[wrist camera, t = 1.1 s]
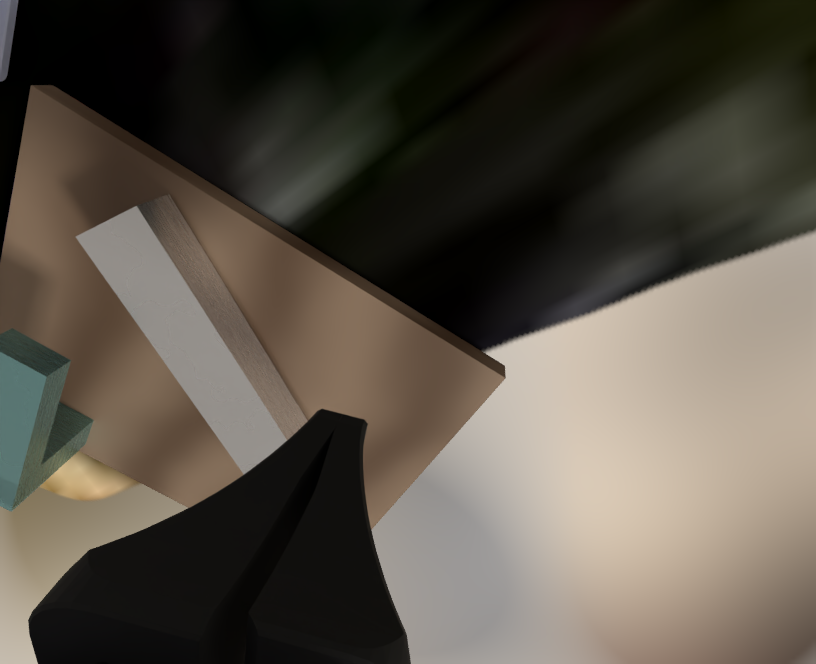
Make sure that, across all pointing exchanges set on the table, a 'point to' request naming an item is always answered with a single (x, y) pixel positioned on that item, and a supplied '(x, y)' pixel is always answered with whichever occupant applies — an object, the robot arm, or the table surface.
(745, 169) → the table surface
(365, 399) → the board
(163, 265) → the latch bar
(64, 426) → the block
